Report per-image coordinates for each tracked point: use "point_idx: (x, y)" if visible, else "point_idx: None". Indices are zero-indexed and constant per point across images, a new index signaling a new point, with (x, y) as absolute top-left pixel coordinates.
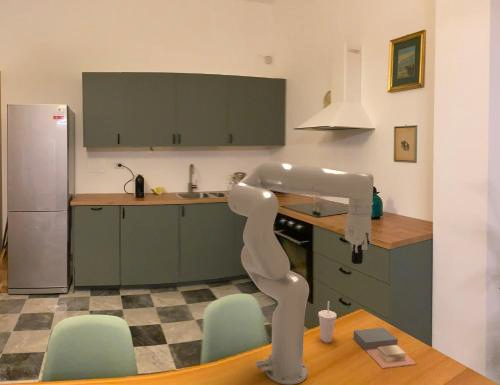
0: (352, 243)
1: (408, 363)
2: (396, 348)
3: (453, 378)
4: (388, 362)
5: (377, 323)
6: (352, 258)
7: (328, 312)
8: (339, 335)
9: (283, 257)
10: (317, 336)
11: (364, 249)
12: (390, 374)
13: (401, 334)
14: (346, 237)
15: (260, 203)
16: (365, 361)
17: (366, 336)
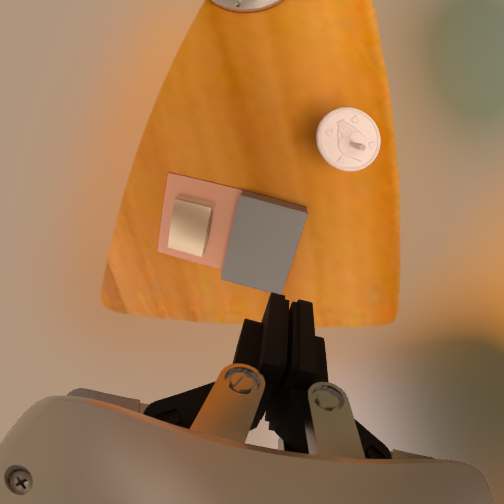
0: (251, 445)
1: (162, 237)
2: (189, 244)
3: (110, 271)
4: None
5: (331, 314)
6: (299, 320)
7: (350, 144)
8: (336, 185)
9: None
10: None
11: (72, 392)
12: (148, 174)
13: None
14: (448, 491)
15: None
16: (207, 157)
17: (265, 220)
